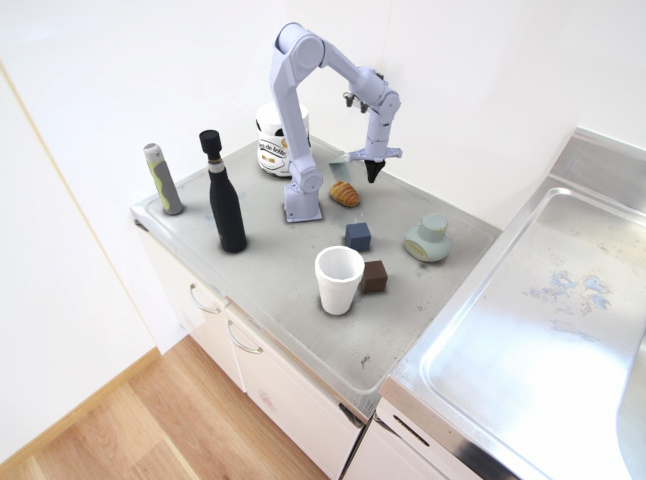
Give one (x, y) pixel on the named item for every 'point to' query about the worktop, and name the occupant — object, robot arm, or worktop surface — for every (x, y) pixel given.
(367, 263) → the walnut block
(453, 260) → the worktop surface
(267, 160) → the milk container
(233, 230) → the wine bottle
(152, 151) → the spray bottle
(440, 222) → the air freshener
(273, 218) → the worktop surface
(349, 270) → the foam cup
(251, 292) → the worktop surface
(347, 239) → the slate block
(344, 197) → the pastry
